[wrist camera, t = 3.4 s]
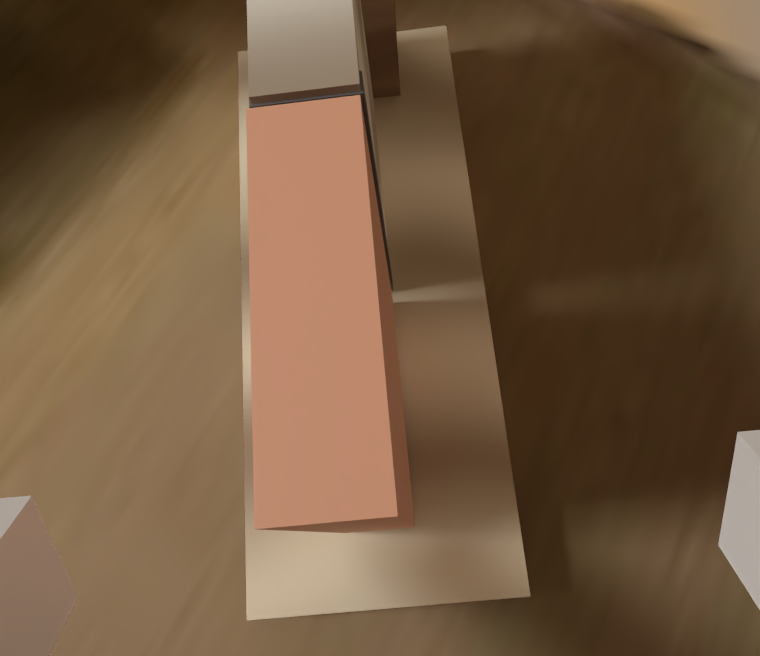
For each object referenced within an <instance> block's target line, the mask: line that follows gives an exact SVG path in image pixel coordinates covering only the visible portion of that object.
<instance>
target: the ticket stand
mask: <svg viewBox="0 0 760 656" xmlns="http://www.w3.org/2000/svg"><path fill="white" fill-rule="evenodd" d="M247 37H248V50H247V51H239V52H238V86H239V151H240V216H241V280H242V345H243V410H244V475H245V540H246V604H247V620H257V619H269V618H281V617H292V616H304V615H316V614H328V613H340V612H352V611H364V610H376V609H388V608H400V607H411V606H423V605H435V604H447V603H459V602H471V601H483V600H495V599H507V598H519V597H530V589H529V582H528V576H527V569H526V562H525V555H524V549H523V542H522V535H521V528H520V522H519V515H518V508H517V501H516V495H515V488H514V481H513V474H512V468H511V461H510V454H509V447H508V440H507V434H506V427H505V420H504V413H503V407H502V400H501V393H500V386H499V380H498V373H497V366H496V359H495V353H494V346H493V339H492V332H491V326H490V319H489V312H488V305H487V299H486V292H485V285H484V278H483V272H482V265H481V258H480V251H479V245H478V238H477V231H476V224H475V218H474V211H473V204H472V197H471V191H470V184H469V177H468V170H467V164H466V157H465V150H464V143H463V137H462V130H461V123H460V116H459V110H458V103H457V96H456V89H455V83H454V76H453V69H452V62H451V56H450V49H449V42H448V35H447V29H446V26H438V27H430V28H422V29H414V30H406V31H398V32H396V20H395V5H394V0H247ZM354 95H360V97H361V103H362V110H363V116H364V122H365V128H366V135H367V141H368V147H369V153H370V160H371V166H372V172H373V179H374V185H375V191H376V197H377V204H378V210H379V216H380V222H381V229H382V235H383V241H384V247H385V254H386V260H387V266H388V272H389V279H390V285H391V291H392V298H393V306H394V316H395V327H396V337H397V347H398V358H399V368H400V378H401V388H402V399H403V409H404V419H405V429H406V440H407V450H408V460H409V471H410V481H411V491H412V501H413V512H414V522H415V527H409V528H398V529H387V530H376V531H364V532H353V533H330V532H306V531H282V530H258V529H254V483H253V433H252V382H251V332H250V281H249V231H248V180H247V130H246V109H247V108H255V107H264V106H272V105H280V104H288V103H297V102H305V101H313V100H321V99H330V98H338V97H346V96H354Z"/></svg>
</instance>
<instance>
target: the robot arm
mask: <svg viewBox="0 0 760 656" xmlns="http://www.w3.org/2000/svg"><path fill="white" fill-rule="evenodd" d="M718 545H719V547H720V549H721V550H722V552H723V553H724V555H725V556H726V558H727V560H728V561H729V563H730V564H731V566H732V567H733V569H734V570H735V572H736V574H737V575H738V577H739V578H740V580H741V581H742V583H743V585H744V586H745V588H746V589H747V591H748V592H749V594H750V595H751V597H752V599H753V600H754V602H755V603H756V605H757V606H758V608H759V610H760V430H754V431H742V432H737V438H736V444H735V450H734V456H733V462H732V467H731V473H730V479H729V485H728V491H727V497H726V503H725V509H724V514H723V520H722V526H721V532H720V538H719V544H718ZM78 598H79V597H78V595H77V593H76V591H75V589H74V587H73V584H72V582H71V580H70V578H69V576H68V573H67V571H66V569H65V567H64V565H63V563H62V560H61V558H60V556H59V554H58V552H57V549H56V547H55V545H54V543H53V541H52V539H51V536H50V534H49V532H48V530H47V528H46V525H45V523H44V521H43V519H42V517H41V514H40V512H39V510H38V508H37V506H36V504H35V501H34V499H33V497H32V496H22V497H11V498H0V656H49V654H50V652H51V650H52V648H53V646H54V644H55V642H56V640H57V638H58V636H59V634H60V632H61V631H62V629H63V627H64V625H65V623H66V621H67V619H68V617H69V615H70V613H71V611H72V609H73V607H74V605H75V603H76V601H77V599H78Z"/></svg>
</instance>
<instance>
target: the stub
mask: <svg viewBox="0 0 760 656" xmlns="http://www.w3.org/2000/svg"><path fill="white" fill-rule="evenodd" d="M246 130H247V180H248V231H249V281H250V332H251V382H252V433H253V483H254V529H258V530H282V531H306V532H330V533H353V532H364V531H376V530H387V529H398V528H409V527H415V522H414V512H413V501H412V491H411V481H410V471H409V460H408V450H407V440H406V429H405V419H404V409H403V399H402V388H401V378H400V368H399V358H398V347H397V337H396V327H395V316H394V306H393V298H392V291H391V285H390V279H389V272H388V266H387V260H386V254H385V247H384V241H383V235H382V229H381V222H380V216H379V210H378V204H377V197H376V191H375V185H374V179H373V172H372V166H371V160H370V153H369V147H368V141H367V135H366V128H365V122H364V116H363V110H362V103H361V97H360V95H354V96H346V97H338V98H330V99H321V100H313V101H305V102H297V103H288V104H280V105H272V106H264V107H255V108H247V109H246Z"/></svg>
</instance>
